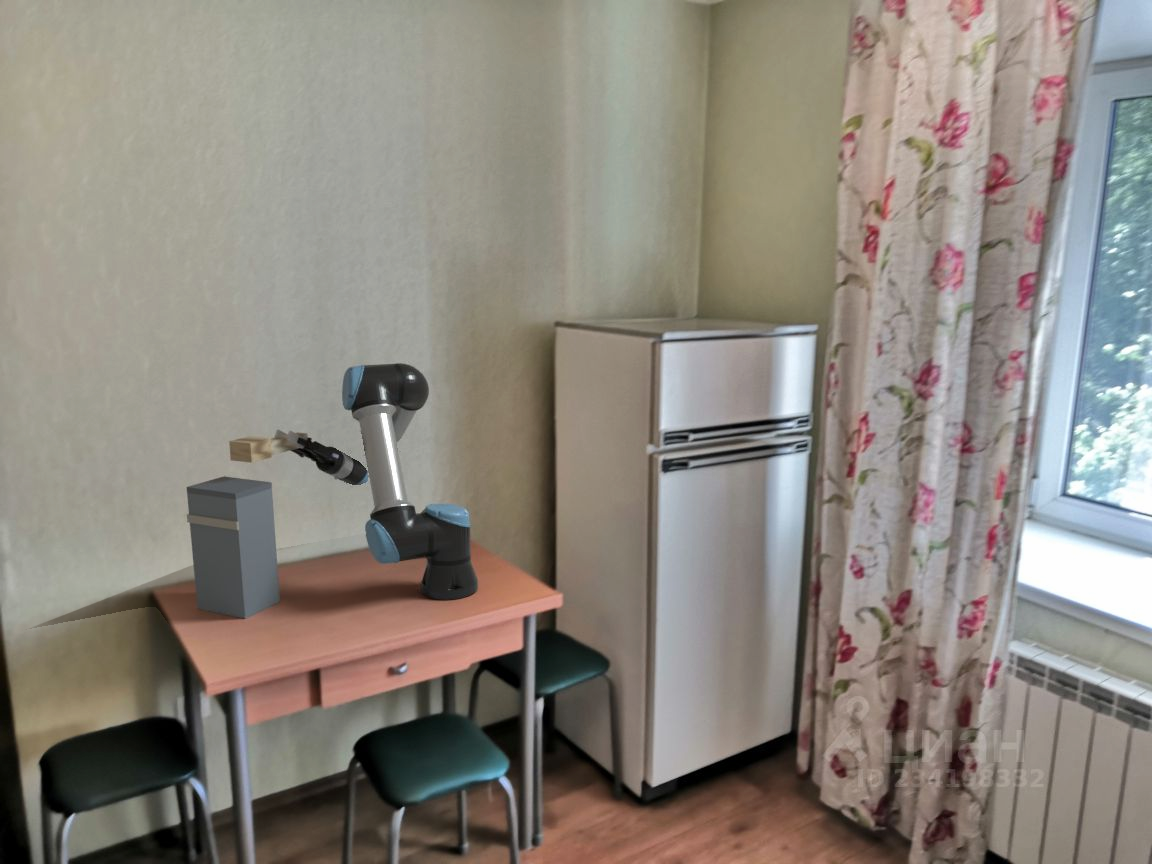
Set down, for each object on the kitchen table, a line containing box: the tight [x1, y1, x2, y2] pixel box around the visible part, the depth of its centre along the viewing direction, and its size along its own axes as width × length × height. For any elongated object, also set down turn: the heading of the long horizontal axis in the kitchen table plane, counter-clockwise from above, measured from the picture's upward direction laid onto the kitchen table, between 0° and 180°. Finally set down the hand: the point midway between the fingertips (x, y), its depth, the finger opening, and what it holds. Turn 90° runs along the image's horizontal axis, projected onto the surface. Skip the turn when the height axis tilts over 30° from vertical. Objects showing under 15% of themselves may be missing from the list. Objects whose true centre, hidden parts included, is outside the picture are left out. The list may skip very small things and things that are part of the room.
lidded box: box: [186, 475, 281, 620], centre depth 217 cm, size 16×12×32 cm
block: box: [228, 432, 309, 463], centre depth 227 cm, size 23×7×5 cm, turn 157°
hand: (282, 435), depth 230 cm, fingers closed on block, 3 cm apart
